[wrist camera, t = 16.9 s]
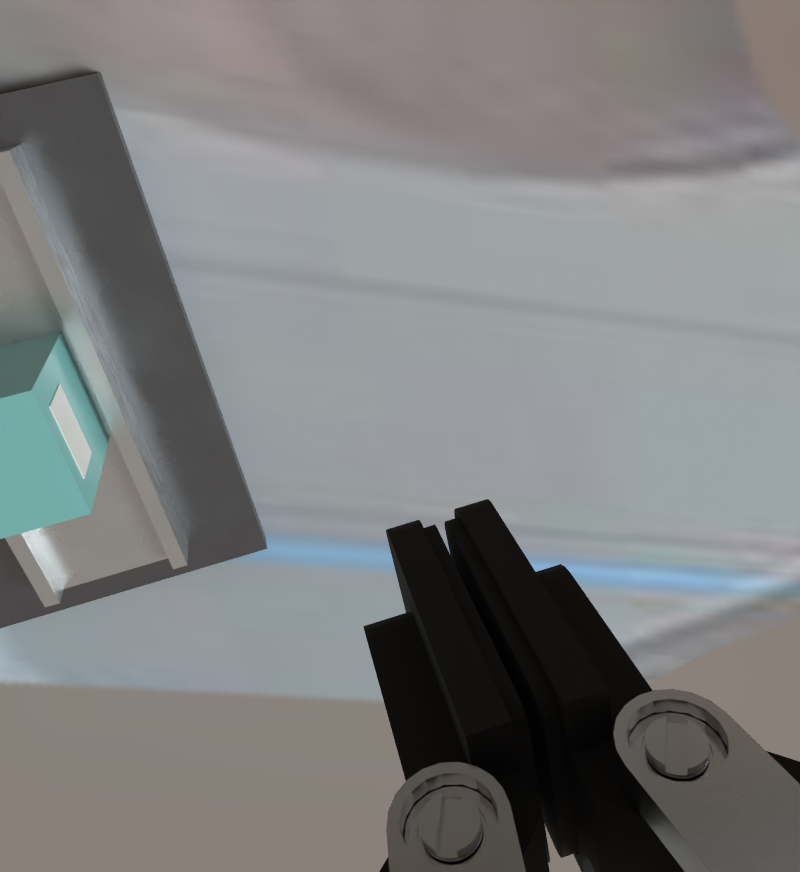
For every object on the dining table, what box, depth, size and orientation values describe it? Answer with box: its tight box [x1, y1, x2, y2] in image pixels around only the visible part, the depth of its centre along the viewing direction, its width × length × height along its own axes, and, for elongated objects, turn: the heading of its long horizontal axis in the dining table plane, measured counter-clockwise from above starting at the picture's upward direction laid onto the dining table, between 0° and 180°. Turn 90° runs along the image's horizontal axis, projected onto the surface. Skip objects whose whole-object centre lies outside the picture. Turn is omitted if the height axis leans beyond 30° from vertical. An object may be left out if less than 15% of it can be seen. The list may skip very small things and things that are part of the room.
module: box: [0, 332, 109, 539], centre depth 33 cm, size 6×5×7 cm
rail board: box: [0, 72, 267, 628], centre depth 36 cm, size 26×16×3 cm, turn 11°
